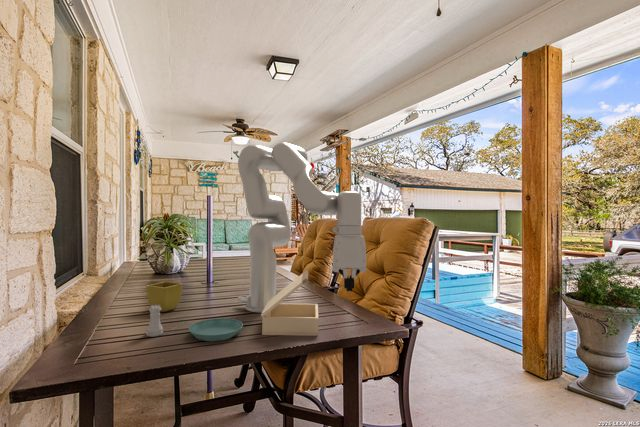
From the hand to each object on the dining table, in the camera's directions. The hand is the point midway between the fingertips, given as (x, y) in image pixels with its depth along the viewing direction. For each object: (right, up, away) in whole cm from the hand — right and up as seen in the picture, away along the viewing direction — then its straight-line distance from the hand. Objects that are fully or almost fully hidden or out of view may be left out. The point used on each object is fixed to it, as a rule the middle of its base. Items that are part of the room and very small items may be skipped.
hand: (349, 290), depth 107 cm
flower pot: (-64, -10, +15) cm, 67 cm away
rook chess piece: (-56, -10, -10) cm, 57 cm away
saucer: (-39, -11, -9) cm, 41 cm away
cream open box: (-18, -11, 0) cm, 21 cm away
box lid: (-19, -1, 0) cm, 19 cm away
